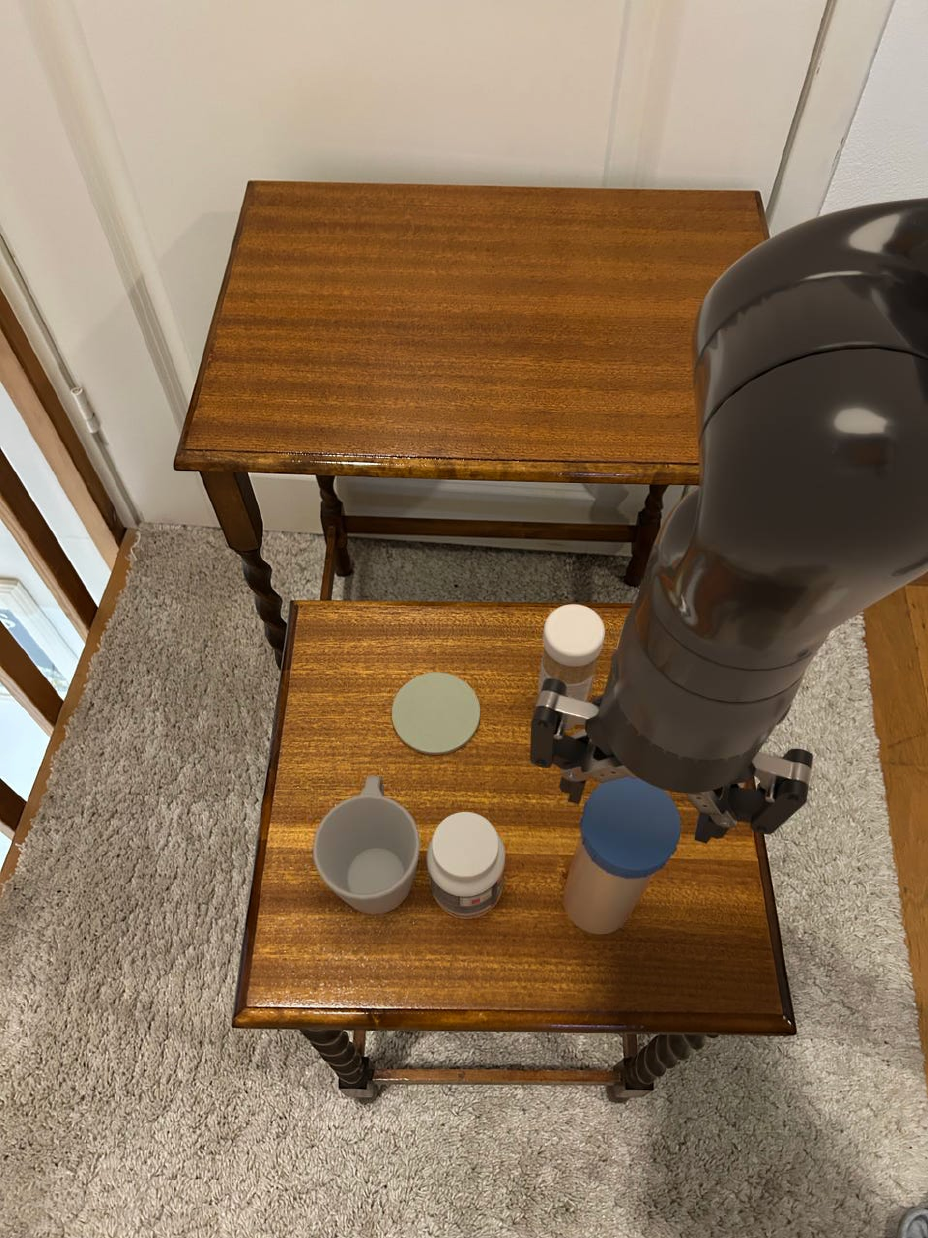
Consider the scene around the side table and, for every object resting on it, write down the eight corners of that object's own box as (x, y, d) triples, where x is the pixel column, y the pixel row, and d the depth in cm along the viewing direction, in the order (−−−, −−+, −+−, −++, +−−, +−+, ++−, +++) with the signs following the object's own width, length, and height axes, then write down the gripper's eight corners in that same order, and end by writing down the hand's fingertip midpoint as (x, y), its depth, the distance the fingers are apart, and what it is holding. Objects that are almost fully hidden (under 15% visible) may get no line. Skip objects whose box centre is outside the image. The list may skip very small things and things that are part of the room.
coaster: (491, 689, 82) (491, 685, 81) (464, 766, 78) (464, 763, 78) (409, 665, 83) (409, 662, 83) (379, 740, 79) (378, 737, 79)
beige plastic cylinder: (639, 876, 73) (683, 797, 58) (623, 944, 71) (665, 880, 56) (572, 855, 74) (598, 772, 59) (554, 921, 72) (577, 852, 56)
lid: (684, 802, 59) (690, 791, 58) (664, 892, 57) (670, 884, 55) (592, 774, 60) (596, 763, 59) (568, 862, 58) (571, 852, 56)
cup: (323, 927, 71) (307, 898, 64) (334, 802, 77) (320, 762, 69) (423, 928, 71) (418, 900, 64) (427, 803, 76) (423, 763, 69)
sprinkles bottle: (591, 690, 82) (611, 609, 70) (580, 736, 79) (599, 661, 68) (540, 678, 82) (551, 596, 71) (528, 723, 80) (538, 646, 69)
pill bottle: (514, 903, 72) (520, 866, 64) (445, 932, 71) (442, 898, 63) (486, 837, 75) (488, 792, 66) (419, 863, 74) (412, 821, 65)
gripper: (876, 649, 41) (771, 785, 55) (561, 566, 44) (538, 717, 58) (858, 805, 38) (751, 908, 52) (515, 704, 40) (502, 829, 54)
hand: (639, 807), depth 55 cm, fingers open, 7 cm apart
